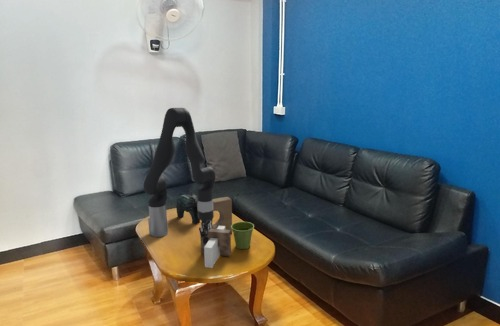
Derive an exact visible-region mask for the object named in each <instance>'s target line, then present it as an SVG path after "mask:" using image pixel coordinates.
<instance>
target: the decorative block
mask: <svg viewBox="0 0 500 326" xmlns="http://www.w3.org/2000/svg"><path fill="white" fill-rule="evenodd" d="M213 212H218V213H219V218H218V219H217V221H216V222H215V223H212V229H217V228H218V226H226V230H230V234H232V233H233V230H232V228H231V225H232V224H233V200H232V199H231V197H229V196H223V197H216V198H213Z"/></svg>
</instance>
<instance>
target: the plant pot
mask: <svg viewBox="0 0 500 326" xmlns="http://www.w3.org/2000/svg"><path fill="white" fill-rule="evenodd" d="M231 228H232V233H233V237H234V243H235V247H236V248H237V249H238V250H247V249H249V248H250V247H251V241H252V236H253V230H254V228H255V224H254V223H252V222H249V221H237V222H234V223H232V225H231Z"/></svg>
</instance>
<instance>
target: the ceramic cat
mask: <svg viewBox="0 0 500 326" xmlns="http://www.w3.org/2000/svg"><path fill="white" fill-rule="evenodd" d="M187 192H190V195H189V194H187V193H185V192H181V193H179V195H178V197H177V200H176V206H175V208H176V215H177V218H179V219H182V218H184V217H185V216H184V215H185V212H186V213H189V215H190V217H191V222H192V224H195V225H197V224H201V220H200V219H198V208H197V203H198V196H197V195H195V193H192V190H191V189H188V190H187ZM181 194H182V195H181Z"/></svg>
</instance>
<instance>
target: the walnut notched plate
mask: <svg viewBox="0 0 500 326" xmlns="http://www.w3.org/2000/svg"><path fill="white" fill-rule="evenodd" d="M210 238H217V239H218V245H220V255H219V256H226V257H230V255H231V253H232V250H231V249H232V246H231V245H232V244H231V243H232V241H231V240H232V239H231V233H230V230H224V229H212V228H211V229H209V231H208V241H209V239H210ZM205 245H206V244H203V237H201V236H200V253H201V254H203V255H204V247H205Z"/></svg>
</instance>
